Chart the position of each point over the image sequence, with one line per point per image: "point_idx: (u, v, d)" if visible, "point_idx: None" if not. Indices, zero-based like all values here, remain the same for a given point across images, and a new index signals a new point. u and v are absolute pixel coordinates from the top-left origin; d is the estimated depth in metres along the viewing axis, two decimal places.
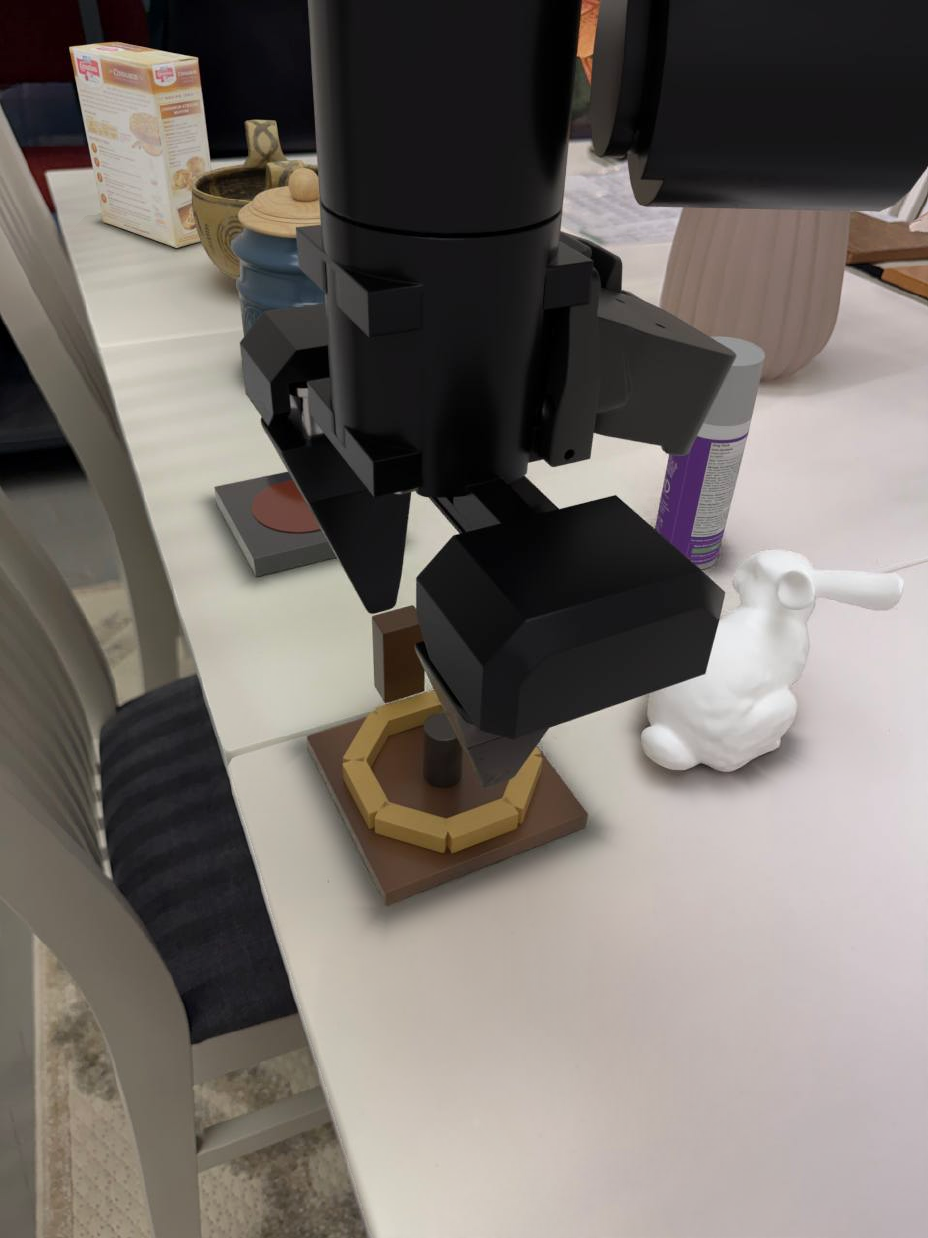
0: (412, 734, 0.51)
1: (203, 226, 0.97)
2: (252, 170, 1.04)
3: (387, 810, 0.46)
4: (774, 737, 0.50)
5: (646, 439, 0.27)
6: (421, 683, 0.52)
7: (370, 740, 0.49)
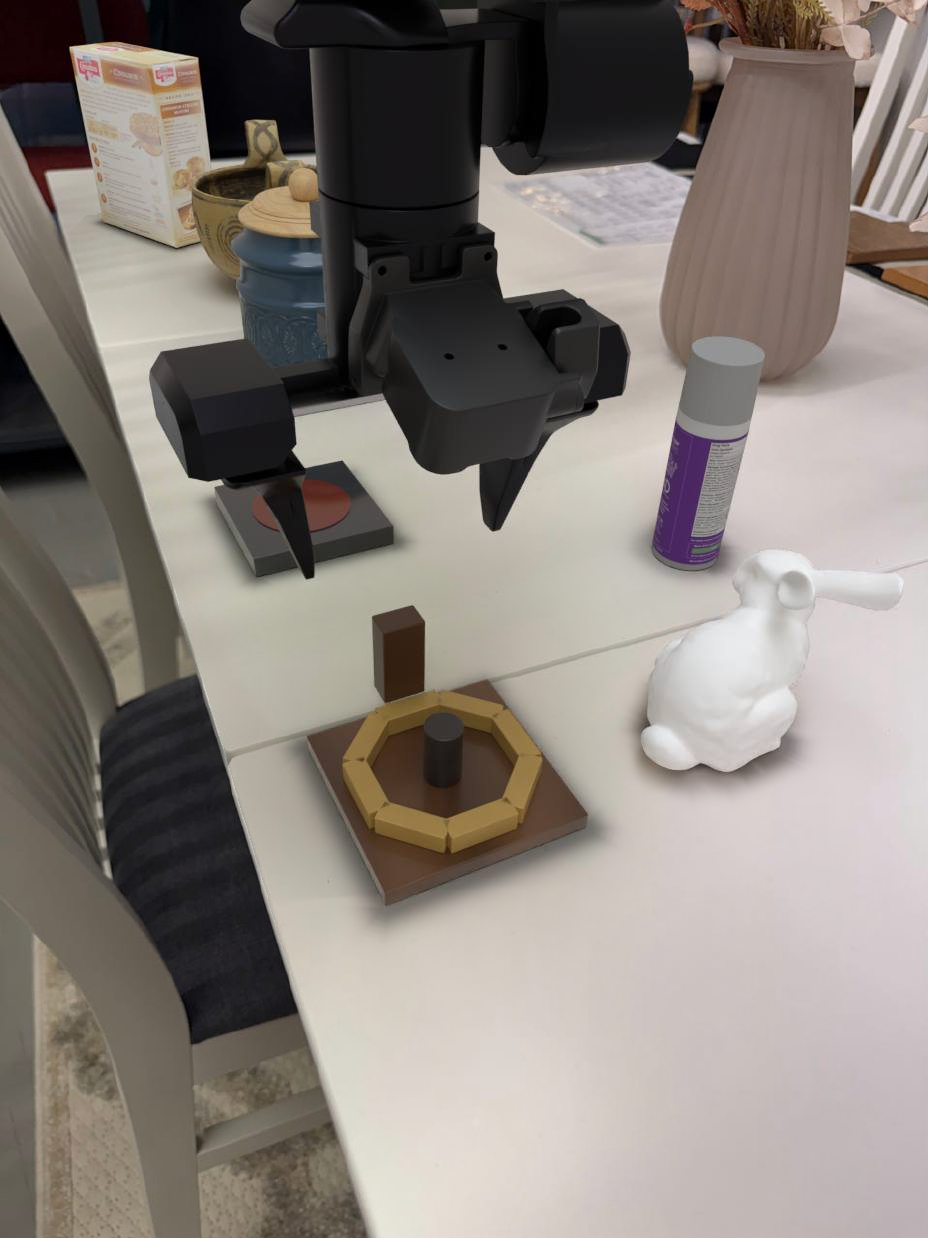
0: (412, 734, 0.51)
1: (203, 226, 0.97)
2: (252, 170, 1.04)
3: (387, 810, 0.46)
4: (774, 737, 0.50)
5: (399, 423, 0.33)
6: (421, 683, 0.52)
7: (370, 740, 0.49)
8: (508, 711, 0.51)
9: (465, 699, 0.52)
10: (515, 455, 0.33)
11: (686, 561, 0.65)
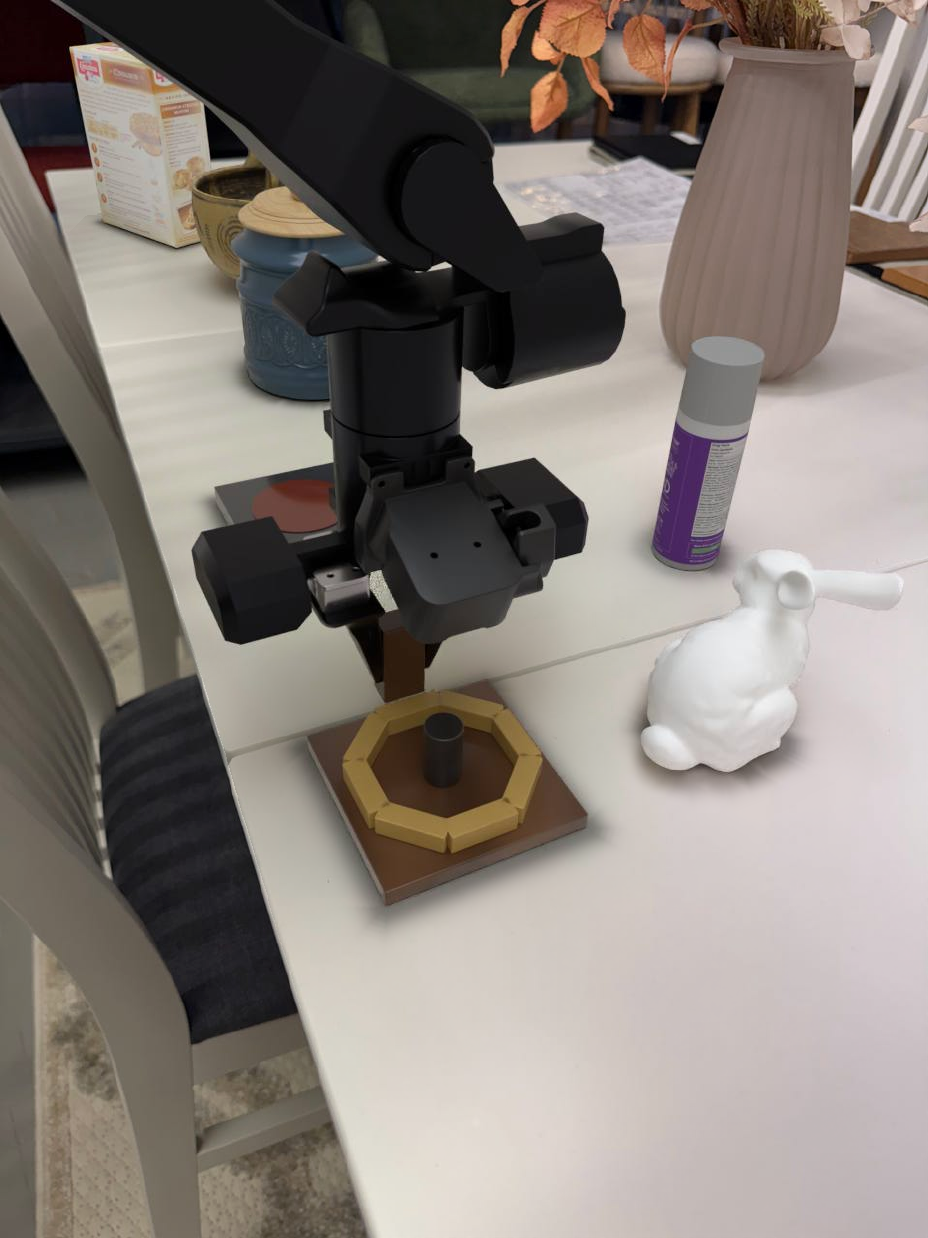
0: (412, 734, 0.51)
1: (203, 226, 0.97)
2: (252, 170, 1.04)
3: (387, 810, 0.46)
4: (774, 737, 0.50)
5: (395, 600, 0.41)
6: (421, 683, 0.52)
7: (370, 740, 0.49)
8: (508, 711, 0.51)
9: (465, 699, 0.52)
10: (488, 625, 0.41)
11: (686, 561, 0.65)
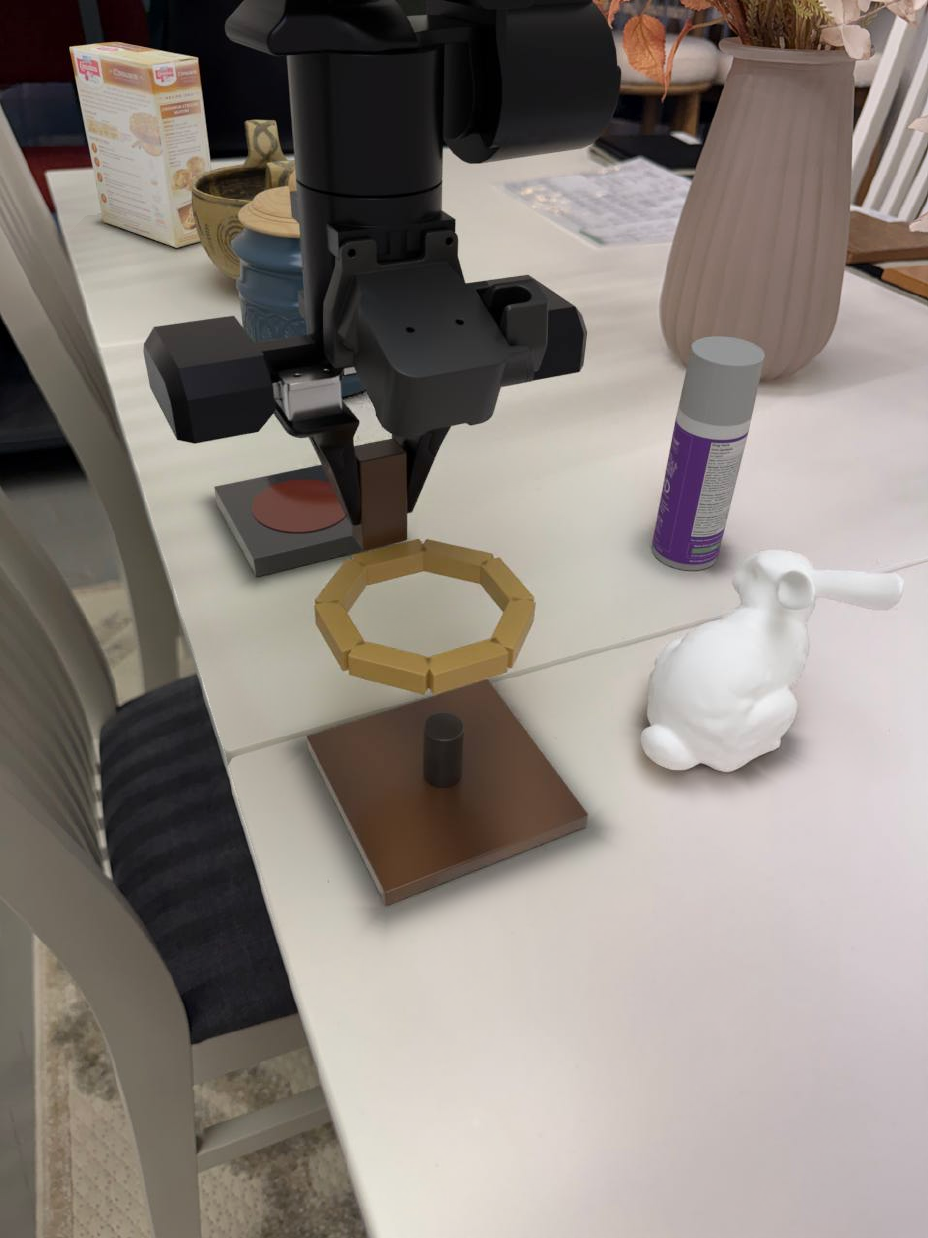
0: (412, 734, 0.51)
1: (203, 226, 0.97)
2: (252, 170, 1.04)
3: (362, 648, 0.41)
4: (774, 737, 0.50)
5: (367, 391, 0.36)
6: (403, 529, 0.47)
7: (346, 584, 0.45)
8: (499, 559, 0.47)
9: (452, 547, 0.47)
10: (472, 421, 0.37)
11: (686, 561, 0.65)
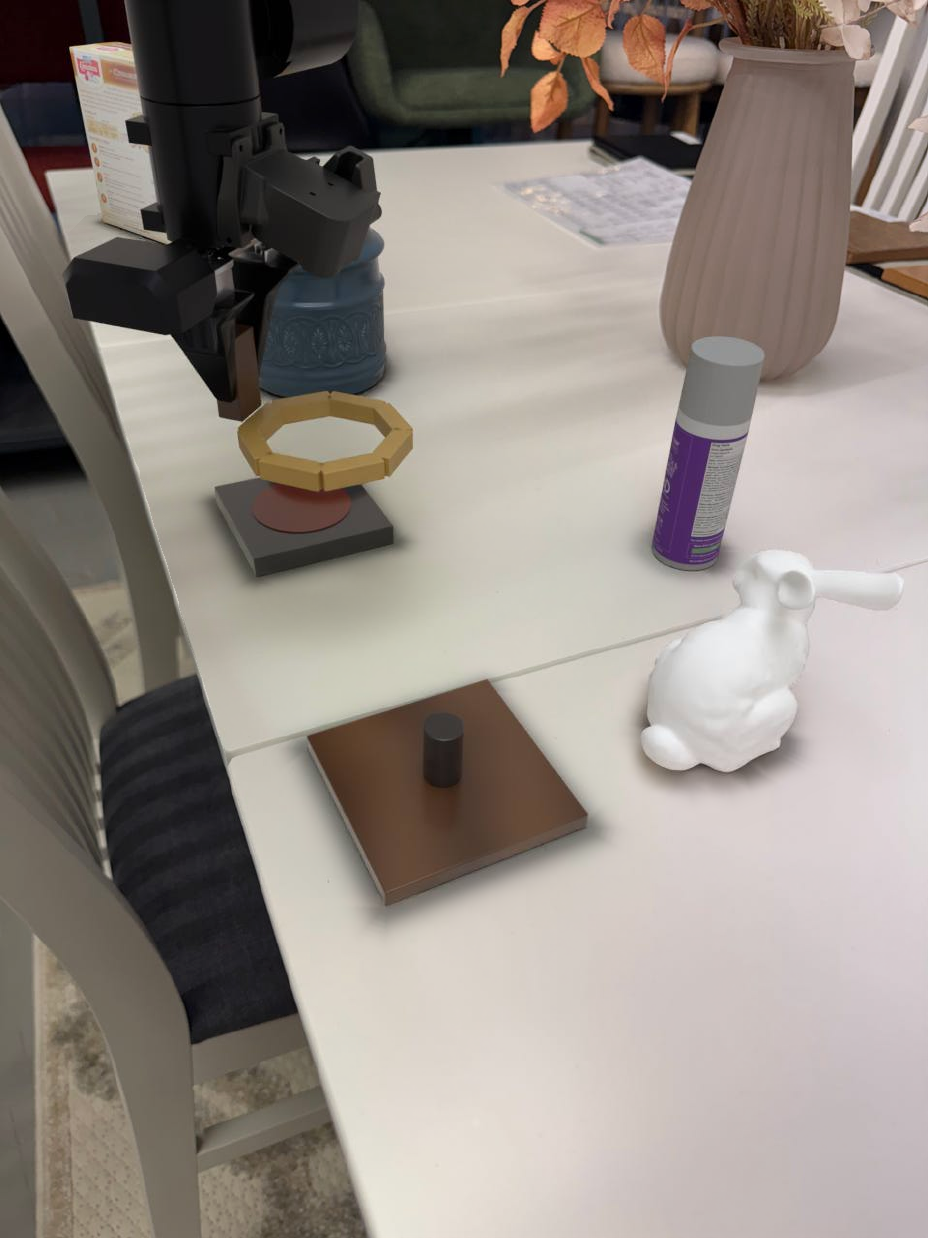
0: (412, 734, 0.51)
1: None
2: None
3: (327, 466, 0.52)
4: (774, 737, 0.50)
5: (286, 253, 0.47)
6: (259, 396, 0.57)
7: (261, 442, 0.54)
8: (335, 391, 0.59)
9: (297, 397, 0.59)
10: (356, 257, 0.50)
11: (686, 561, 0.65)
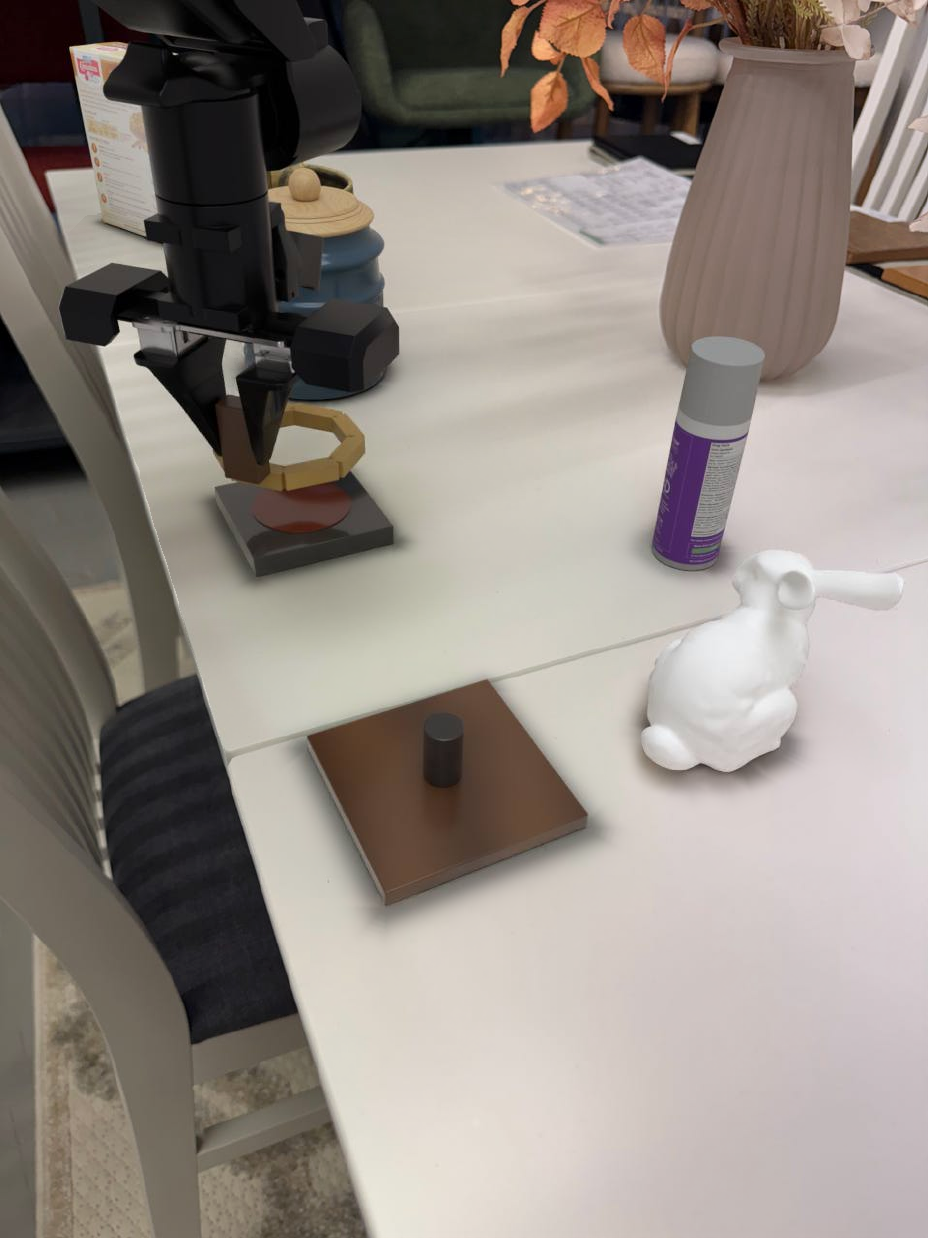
0: (412, 734, 0.51)
1: None
2: None
3: (353, 434, 0.64)
4: (774, 737, 0.50)
5: (307, 284, 0.56)
6: None
7: (310, 462, 0.61)
8: None
9: None
10: None
11: (686, 561, 0.65)
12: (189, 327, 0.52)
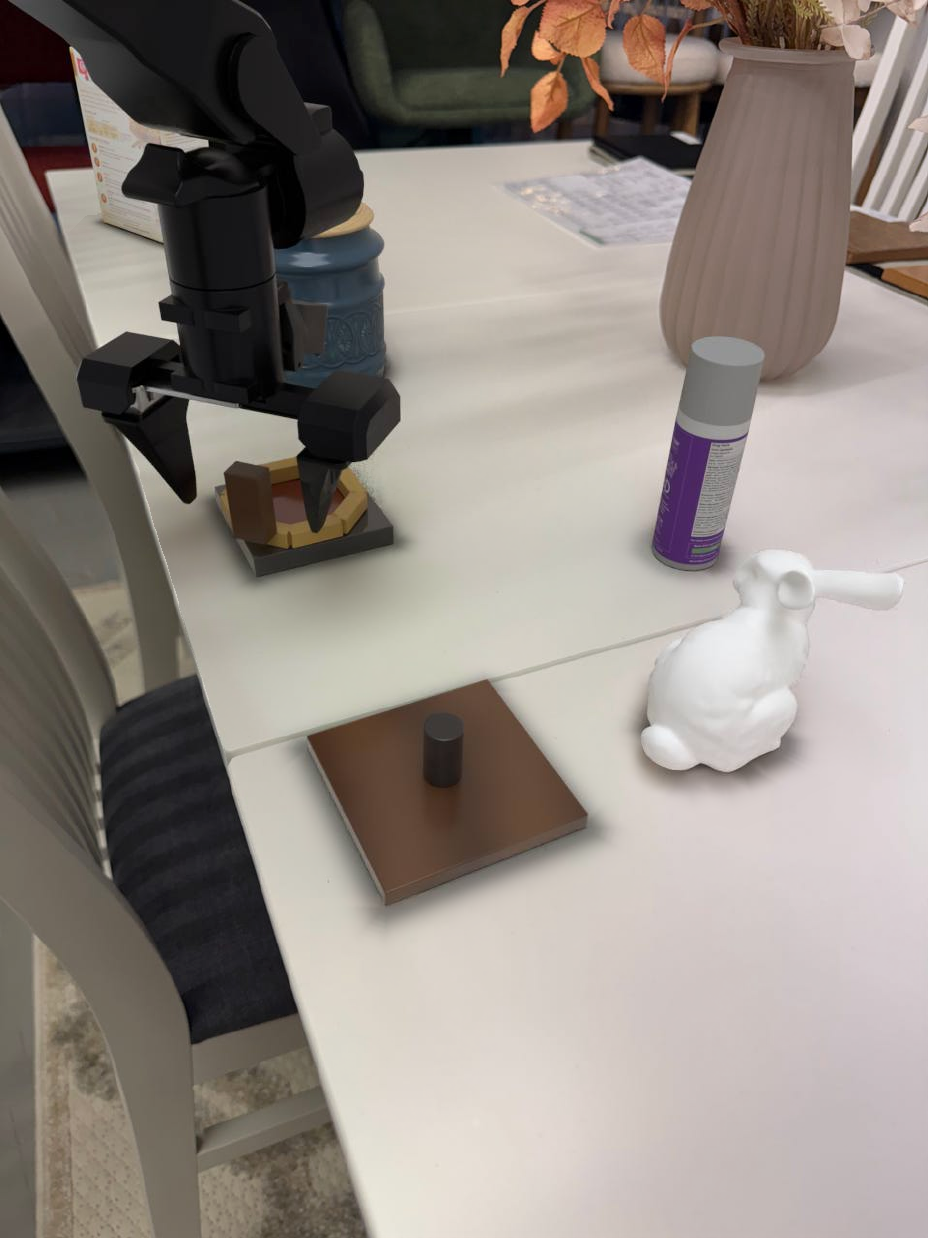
0: (412, 734, 0.51)
1: None
2: None
3: (356, 489, 0.67)
4: (774, 737, 0.50)
5: (313, 351, 0.59)
6: None
7: None
8: (223, 491, 0.67)
9: None
10: None
11: (686, 561, 0.65)
12: (152, 388, 0.56)
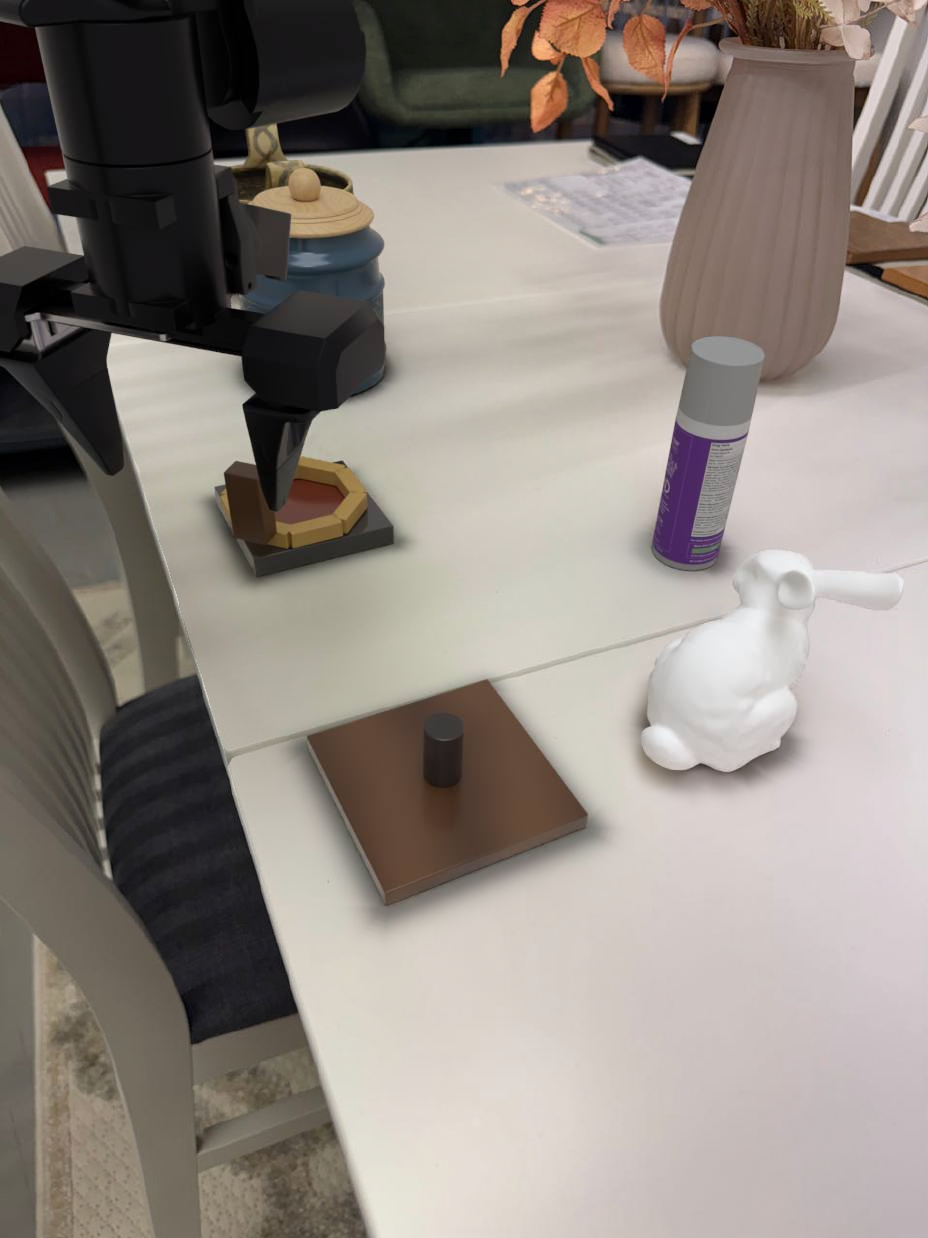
0: (412, 734, 0.51)
1: None
2: (252, 170, 1.04)
3: (356, 489, 0.67)
4: (774, 737, 0.50)
5: (270, 272, 0.45)
6: None
7: (315, 520, 0.64)
8: (223, 491, 0.67)
9: None
10: None
11: (686, 561, 0.65)
12: (52, 316, 0.42)
